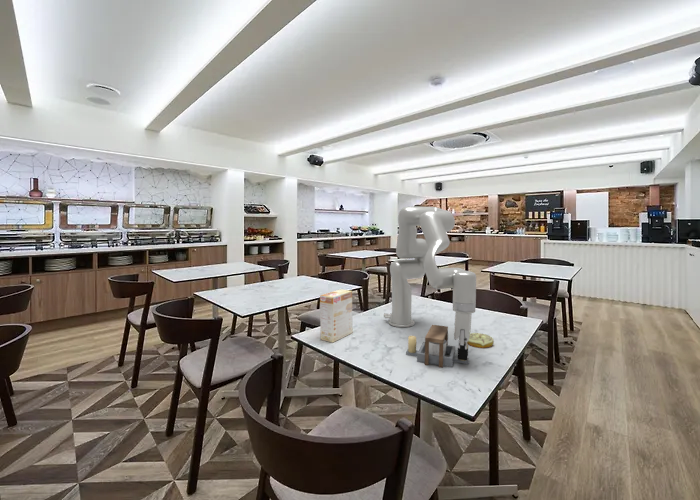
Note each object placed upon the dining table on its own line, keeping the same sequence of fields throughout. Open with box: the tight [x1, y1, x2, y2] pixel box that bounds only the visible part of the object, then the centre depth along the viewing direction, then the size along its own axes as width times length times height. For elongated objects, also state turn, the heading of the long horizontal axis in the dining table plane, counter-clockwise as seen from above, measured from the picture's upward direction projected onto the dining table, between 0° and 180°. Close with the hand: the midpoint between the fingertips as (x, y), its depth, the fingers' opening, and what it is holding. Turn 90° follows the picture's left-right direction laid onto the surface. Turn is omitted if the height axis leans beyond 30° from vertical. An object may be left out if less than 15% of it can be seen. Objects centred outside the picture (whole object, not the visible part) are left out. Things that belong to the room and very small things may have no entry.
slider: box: [405, 335, 470, 368], centre depth 118 cm, size 22×12×6 cm, turn 67°
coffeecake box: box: [319, 288, 354, 343], centre depth 142 cm, size 15×7×20 cm, turn 145°
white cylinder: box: [429, 339, 447, 356], centre depth 118 cm, size 7×7×7 cm
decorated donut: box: [468, 332, 495, 349], centre depth 132 cm, size 10×11×4 cm
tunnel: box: [424, 324, 449, 368], centre depth 118 cm, size 6×15×10 cm, turn 157°
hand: (462, 356), depth 115 cm, fingers closed on slider, 3 cm apart
